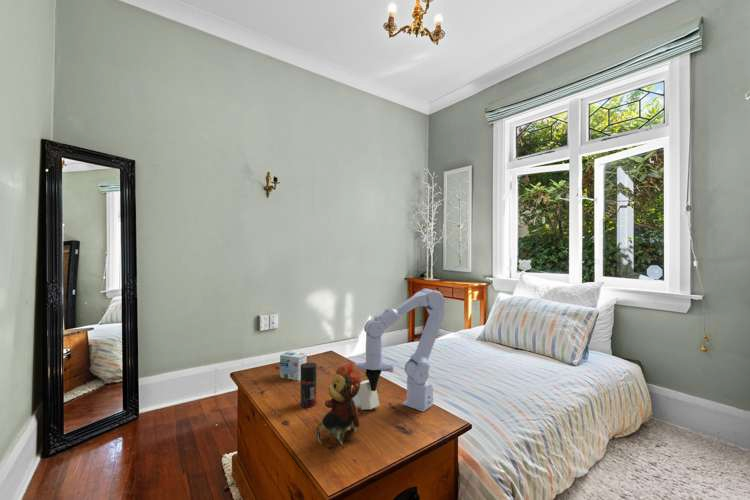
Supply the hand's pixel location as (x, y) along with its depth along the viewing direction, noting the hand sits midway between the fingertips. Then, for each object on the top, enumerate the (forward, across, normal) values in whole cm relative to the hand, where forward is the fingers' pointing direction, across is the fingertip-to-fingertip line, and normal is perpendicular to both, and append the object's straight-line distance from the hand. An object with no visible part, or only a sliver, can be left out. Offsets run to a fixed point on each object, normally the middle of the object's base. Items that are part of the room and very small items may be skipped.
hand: (373, 390), depth 125 cm
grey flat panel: (+7, +10, -5) cm, 14 cm away
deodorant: (+8, +26, +1) cm, 27 cm away
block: (+7, +2, -1) cm, 7 cm away
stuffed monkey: (+8, +6, +21) cm, 23 cm away
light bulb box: (+8, +44, -24) cm, 51 cm away
